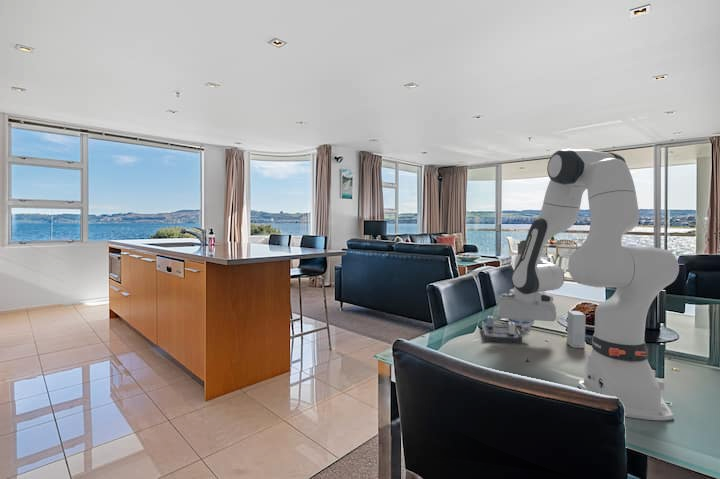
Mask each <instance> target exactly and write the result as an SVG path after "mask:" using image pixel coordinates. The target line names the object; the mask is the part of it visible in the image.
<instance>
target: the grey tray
mask: <svg viewBox="0 0 720 479" xmlns="http://www.w3.org/2000/svg"><path fill="white" fill-rule="evenodd" d="M514 324H515V323H514ZM481 330H482V335H483V338H484V339H483V340H484V342H491V343H503V344H516V345H519V344H520V345H523V335H522V333H521V332H520V331H519V328H518V326H516V325H515V334H509V332H508V323H494V322H493V327H488V325H487V322H484V321H483V320H482V321H481Z"/></svg>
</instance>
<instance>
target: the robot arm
mask: <svg viewBox="0 0 720 479" xmlns="http://www.w3.org/2000/svg"><path fill="white" fill-rule="evenodd" d="M546 168H547V170H546V171H547V175H548V177H549V179H550V180H549V182H548V185H547V188H546V191H545V194H544V198H543V203H542V207H541V210H540V212H539V214H538V216H537V218H536V219H535V220H534V221H533V222H532V224H531V225H530V227H529V230H528V232H527V235H526V238H525V240H526V241H525V244H524V247H523V250H522V253H520V254H518V253H517V255H516V257H515V262H514V269H513V270H512V273H511V283H512V285H513V289H514V294H509V293H501V294H500V295H497V298H496V301H497V304H498V306H497V316H498V317H499V318H500V319H504V320H505V319H506V320H507V319H518V321H519V323H520V324H521V326H520V327H521V329H520V330H521V331H522V332H531V327H532V326H533V325H534V323H535V322H534V321H540V322H543V321H544V322H555V321H556V320H557V310H556V309H557V308H556V304H555V303H554V296H552V294H550V293H549V292H550V291H555V290H558V289H561V287H562V286H563V285H564V281H565V274H564V271H563V269H562V268H561V267H560V265H558V264H556V263H552V262H550V261H548V260H547V259H545V258H543V257H542V256H541V255H542V253H543V250H544V247H545V246H546V243H547V242H548V241H549V240H550V239H552V238H553V237H554V236H556V235H559V234H560V233H563V232H565V231H567V230H568V229H571V227H573V226H574V224H575V223H576V221H577V219H578V216H579V213H580V209H581V204H582V198H583V194H584V192H585V191H587V200H588V208H589V209H588V210H589V231H588V234H587V236H586V239H585V240H584V242H583V243H581V245H579V247H578V248H577V249H575V250H574V251H573V253H571V255H570V256H569V259H568V264H567V269H568V273H569V275H570V277H571V278H572V280H573V281H574V282H575V283H576V284H578V285H583V286H586V287H587V286H588V287H594V288H614V289H615V288H616V289H615V291H614V293H613V294H612V296H611V297H609V298H607V299H606V300H603V301H601V302H600V303H599V304H598V305H597V307H595V312H594V333H593V334H592V336H591V337H592V339H591V348H592V350H591V351H590V352H589V353H588V355H587V356H585V363H584V372H583V373H584V374H583V379H581V380H579V381H577V387H579V388H580V389H581V390H582V389H584V390H588V391H592V392H596V393H600V394H605V395H610V396H616V397H618V398H620V400H621V401H622V402H623V404H624V406H625V413H626V415H625V416H624V417H628V418H632V419H633V418H634V419H639V420H640V419H642V420H650V421H670V420H673V419H674V413H673V412H672V411H671V409H670V407H669V405H668V404H667V403H666V401H665V399H664V398H663V397H662V391H664V390H665V382H664V381H663V380H659V379H657V378H656V375H657V373H656V370H654V369H652V367H651V365H650V363H649V361H648V358H649V355H648V347H647V343H646V341H645V336H646V335H645V332H646V322H647V316H648V311H649V310H650V307H651V305H652V304H653V301H654V300H655V299H656V297H657V296H658V294H659V293H660V292H662V290H664V289H665V288H667V286H670V285H672V283H675V281H676V280H677V277H678V275H679V273H680V265H679V264H680V263H679V262H678V259H677V257H676V255H675V254H673V253H672V252H671V251H670V250H668V249H665V248H664V249H663V248H660V247H655V246H654V247H653V246H648V245H646V246H643V245H642V246H641V245H638V246H637V245H633V246H631V245H622V238H623V235H625V234H627V233H628V232H631V231H632V230H633V229H635V228H636V226H638V224H639V221H640V218H641V217H640V211H639V206H638V205H639V204H638V198H637V193H636V188H635V184H634V183H635V182H634V179H633V175H632V174H631V170H630V168H629V167H628V164H627V162H626V160H625V158H624V157H623V156H622V155H619V154H617V153H615V152H610V151H609V152H608V151H607V152H606V151H600V150H599V151H598V150H593V149H583V148H582V149H572V148H566V149H560V150H556V151H555V152H553V154H552V155H551V156H550V158H549V160H548V163H547V167H546ZM547 291H549V292H547ZM523 320H529V322H530V323H529V324H528V326H524V325H523V324H522V322H523Z"/></svg>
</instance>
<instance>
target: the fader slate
mask: <svg viewBox="0 0 720 479" xmlns="http://www.w3.org/2000/svg"><path fill="white" fill-rule="evenodd" d="M486 323H487V325H488V327H493V323H494V316H493V315H491V314H490V315H487V321H486Z"/></svg>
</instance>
